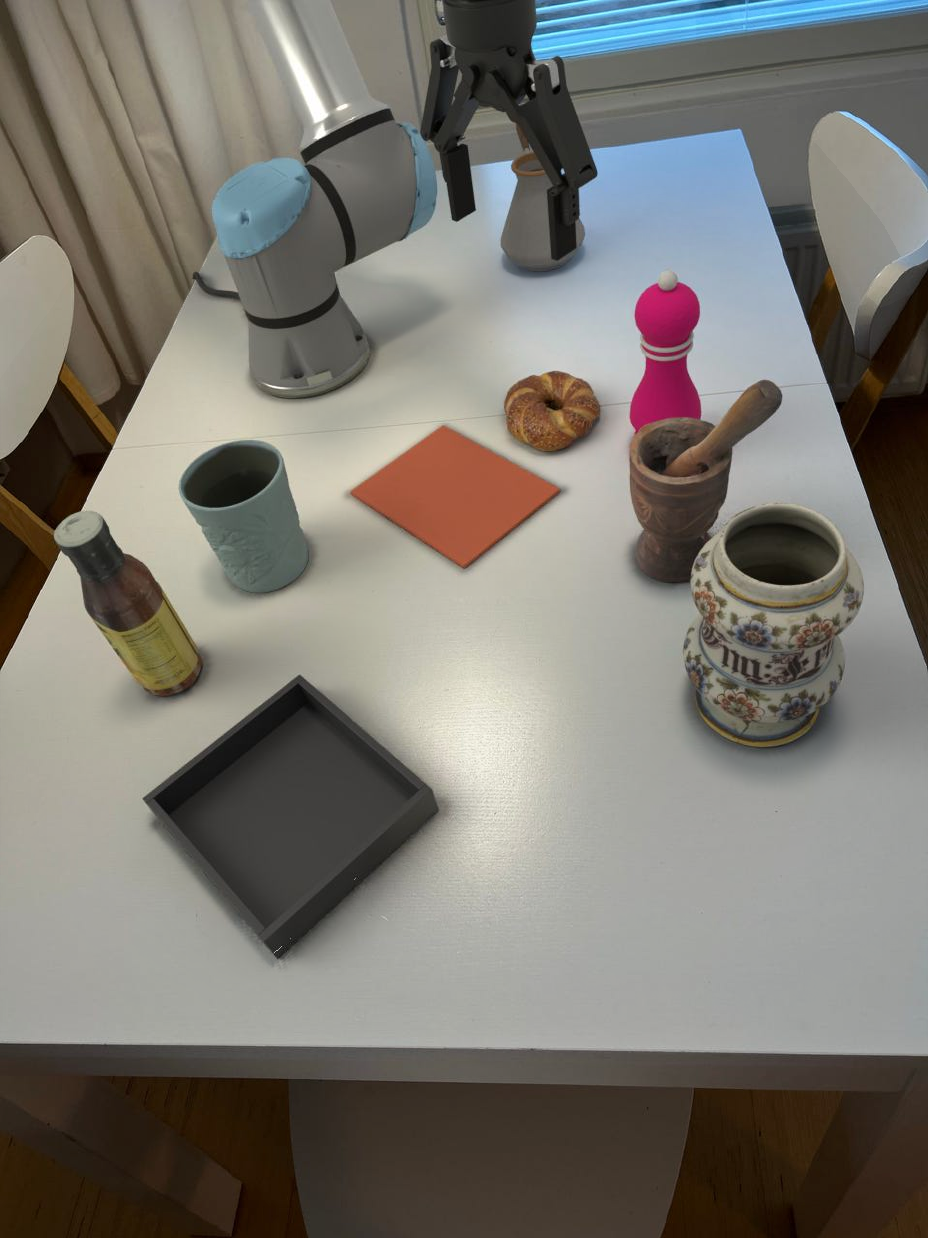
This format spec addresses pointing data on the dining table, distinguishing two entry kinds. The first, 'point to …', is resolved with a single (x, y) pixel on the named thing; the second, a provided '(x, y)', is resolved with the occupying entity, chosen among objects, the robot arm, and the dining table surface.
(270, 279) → the robot arm
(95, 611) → the sauce bottle
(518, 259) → the coffee pot
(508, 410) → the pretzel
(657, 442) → the mortar and pestle
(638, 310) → the pepper mill
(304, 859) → the tray
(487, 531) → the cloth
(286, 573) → the light blue ceramic cup
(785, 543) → the apothecary jar
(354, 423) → the dining table surface
